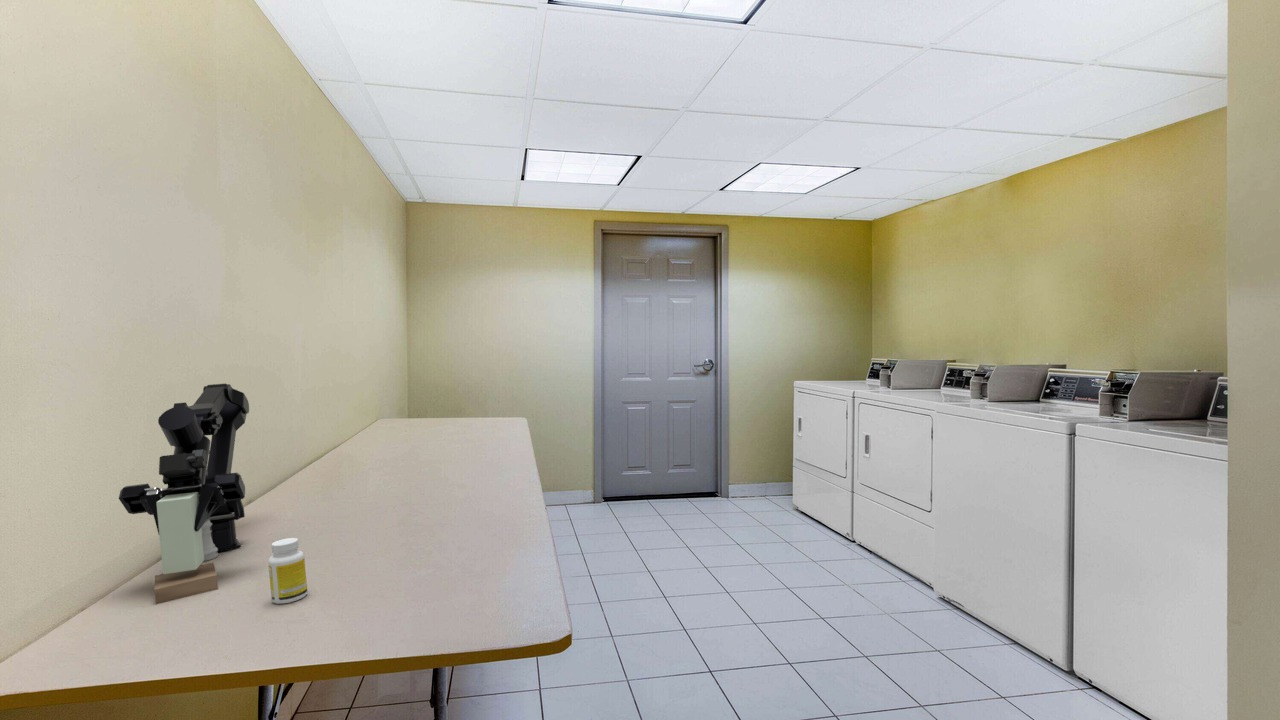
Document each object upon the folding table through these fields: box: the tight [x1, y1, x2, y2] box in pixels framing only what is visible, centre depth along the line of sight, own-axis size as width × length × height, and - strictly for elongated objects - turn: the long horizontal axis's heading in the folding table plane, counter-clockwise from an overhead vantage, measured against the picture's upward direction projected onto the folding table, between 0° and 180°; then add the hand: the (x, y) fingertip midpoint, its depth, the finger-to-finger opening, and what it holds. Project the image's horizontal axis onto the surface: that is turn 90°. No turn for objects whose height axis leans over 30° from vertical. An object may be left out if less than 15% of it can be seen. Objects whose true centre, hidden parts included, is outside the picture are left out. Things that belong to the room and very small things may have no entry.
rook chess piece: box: [201, 519, 220, 562], centre depth 135 cm, size 4×4×8 cm
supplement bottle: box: [267, 537, 308, 605], centre depth 110 cm, size 5×5×10 cm
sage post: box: [156, 492, 205, 574], centre depth 117 cm, size 5×5×13 cm
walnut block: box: [154, 562, 219, 605], centre depth 118 cm, size 9×9×3 cm
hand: (178, 532), depth 116 cm, fingers closed on sage post, 5 cm apart
